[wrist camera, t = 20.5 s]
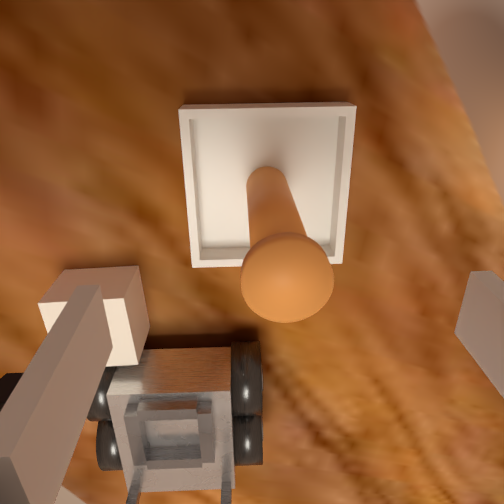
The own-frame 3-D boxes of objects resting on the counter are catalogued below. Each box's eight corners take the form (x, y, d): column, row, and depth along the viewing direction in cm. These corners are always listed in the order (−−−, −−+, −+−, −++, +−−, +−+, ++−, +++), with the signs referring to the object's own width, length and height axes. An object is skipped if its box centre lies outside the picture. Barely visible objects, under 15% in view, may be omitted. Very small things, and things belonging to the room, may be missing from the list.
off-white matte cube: (64, 269, 34) (37, 303, 29) (138, 264, 34) (123, 298, 29) (81, 329, 36) (59, 369, 32) (150, 325, 36) (138, 364, 32)
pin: (238, 160, 29) (239, 243, 17) (294, 158, 30) (337, 240, 17) (240, 213, 31) (242, 323, 19) (293, 211, 31) (330, 321, 19)
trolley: (98, 331, 36) (9, 514, 22) (260, 326, 36) (274, 503, 22) (119, 429, 41) (58, 627, 27) (260, 424, 42) (273, 617, 28)
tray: (183, 104, 28) (178, 109, 26) (347, 101, 28) (356, 106, 26) (195, 252, 33) (192, 267, 31) (335, 249, 33) (342, 263, 31)
